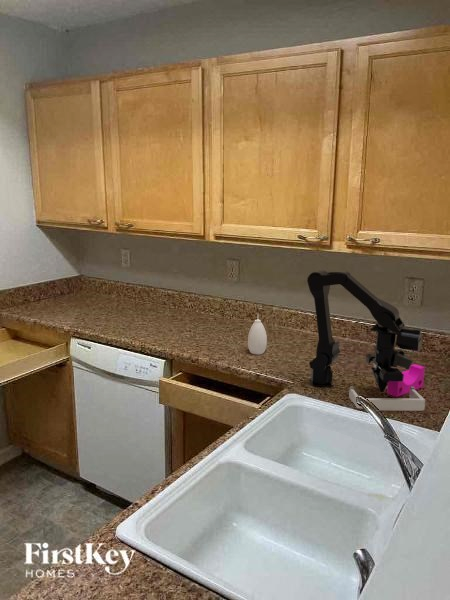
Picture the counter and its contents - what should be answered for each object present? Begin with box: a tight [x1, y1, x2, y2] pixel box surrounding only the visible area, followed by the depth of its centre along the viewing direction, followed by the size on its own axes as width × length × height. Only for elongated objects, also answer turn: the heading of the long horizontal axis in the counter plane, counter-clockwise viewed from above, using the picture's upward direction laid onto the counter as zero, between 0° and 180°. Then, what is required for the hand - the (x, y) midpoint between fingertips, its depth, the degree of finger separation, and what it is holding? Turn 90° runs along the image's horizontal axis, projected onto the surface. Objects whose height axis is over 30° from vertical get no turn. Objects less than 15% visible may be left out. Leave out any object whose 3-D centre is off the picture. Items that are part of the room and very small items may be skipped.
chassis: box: [348, 385, 426, 412], centre depth 147 cm, size 21×9×4 cm, turn 90°
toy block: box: [386, 363, 426, 398], centre depth 159 cm, size 15×6×8 cm, turn 126°
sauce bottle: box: [247, 315, 268, 356], centre depth 191 cm, size 8×8×18 cm
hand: (381, 391), depth 151 cm, fingers closed
